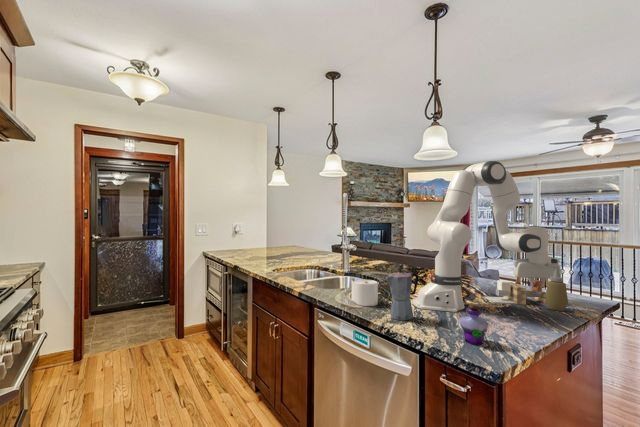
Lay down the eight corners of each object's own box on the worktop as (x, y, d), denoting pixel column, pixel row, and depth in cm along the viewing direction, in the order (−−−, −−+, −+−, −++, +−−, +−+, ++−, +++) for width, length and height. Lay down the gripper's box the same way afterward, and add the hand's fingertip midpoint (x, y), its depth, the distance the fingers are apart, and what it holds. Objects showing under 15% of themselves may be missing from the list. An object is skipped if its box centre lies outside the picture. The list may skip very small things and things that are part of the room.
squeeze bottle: (572, 312, 129) (572, 271, 129) (551, 311, 131) (551, 270, 131) (561, 307, 137) (561, 268, 137) (541, 306, 139) (541, 267, 139)
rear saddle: (545, 304, 142) (545, 295, 142) (534, 299, 150) (534, 291, 150) (554, 304, 142) (554, 295, 142) (543, 299, 149) (543, 291, 150)
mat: (494, 303, 143) (494, 302, 143) (484, 297, 153) (484, 296, 153) (515, 303, 142) (515, 302, 142) (504, 297, 152) (504, 297, 152)
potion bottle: (470, 348, 93) (470, 309, 93) (453, 337, 102) (454, 302, 102) (495, 346, 95) (495, 308, 95) (476, 335, 103) (476, 301, 103)
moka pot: (379, 315, 123) (380, 267, 123) (409, 311, 129) (409, 265, 129) (394, 323, 114) (394, 271, 115) (425, 318, 120) (425, 268, 121)
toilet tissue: (379, 306, 135) (379, 284, 135) (352, 306, 136) (353, 284, 136) (375, 300, 146) (375, 279, 146) (351, 299, 146) (351, 279, 147)
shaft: (499, 296, 145) (499, 280, 145) (495, 294, 150) (495, 278, 150) (542, 297, 144) (543, 281, 144) (537, 295, 148) (537, 279, 148)
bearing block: (517, 304, 141) (517, 287, 141) (503, 297, 153) (503, 281, 153) (525, 304, 141) (526, 287, 141) (511, 297, 153) (511, 282, 153)
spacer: (501, 290, 145) (501, 282, 145) (497, 288, 150) (497, 280, 150) (510, 290, 145) (510, 282, 145) (505, 288, 149) (505, 280, 149)
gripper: (518, 259, 144) (518, 288, 144) (563, 260, 142) (563, 289, 142) (511, 257, 150) (511, 285, 150) (554, 258, 148) (554, 286, 148)
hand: (536, 287), depth 146 cm, fingers closed on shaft, 2 cm apart
